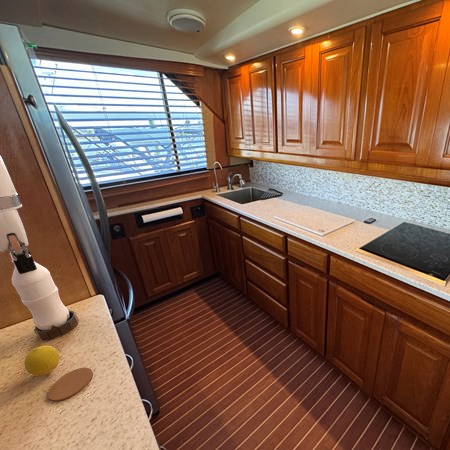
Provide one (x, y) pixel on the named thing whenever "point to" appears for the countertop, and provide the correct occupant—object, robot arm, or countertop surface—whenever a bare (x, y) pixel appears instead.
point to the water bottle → (40, 297)
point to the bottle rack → (58, 328)
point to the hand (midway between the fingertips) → (27, 268)
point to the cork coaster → (70, 384)
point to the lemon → (41, 360)
